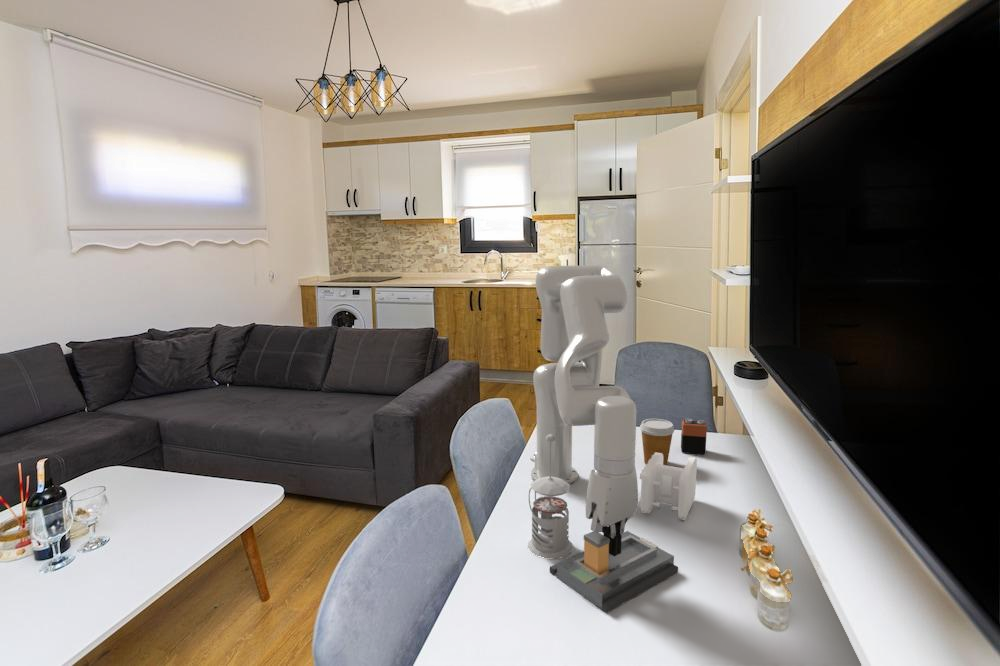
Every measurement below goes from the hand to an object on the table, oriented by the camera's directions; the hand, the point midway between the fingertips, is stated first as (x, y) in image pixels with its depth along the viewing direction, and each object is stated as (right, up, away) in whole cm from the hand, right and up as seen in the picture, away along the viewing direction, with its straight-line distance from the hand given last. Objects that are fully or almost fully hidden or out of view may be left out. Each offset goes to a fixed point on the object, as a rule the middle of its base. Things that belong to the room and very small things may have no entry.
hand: (612, 551), depth 110 cm
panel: (+1, -5, +2) cm, 5 cm away
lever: (-3, -2, -2) cm, 5 cm away
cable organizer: (+19, 0, +28) cm, 33 cm away
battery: (+37, +6, +62) cm, 72 cm away
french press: (-11, -3, +12) cm, 17 cm away
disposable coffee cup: (+23, +5, +54) cm, 59 cm away
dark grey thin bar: (+5, -6, -4) cm, 8 cm away
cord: (-3, -4, +8) cm, 9 cm away
